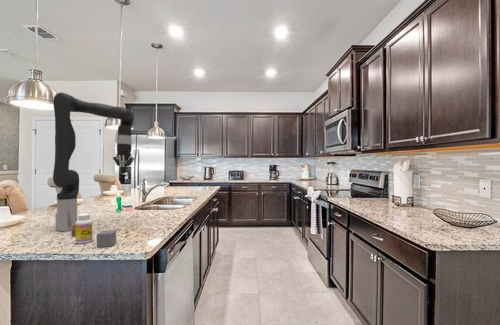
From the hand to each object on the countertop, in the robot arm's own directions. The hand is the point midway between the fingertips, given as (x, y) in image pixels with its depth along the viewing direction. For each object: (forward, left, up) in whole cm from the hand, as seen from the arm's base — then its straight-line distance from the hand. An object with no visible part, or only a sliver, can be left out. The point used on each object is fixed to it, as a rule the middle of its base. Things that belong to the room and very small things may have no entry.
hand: (123, 173), depth 144 cm
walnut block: (-11, -17, -31) cm, 37 cm away
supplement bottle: (0, -26, -31) cm, 41 cm away
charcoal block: (+14, -28, -31) cm, 44 cm away
